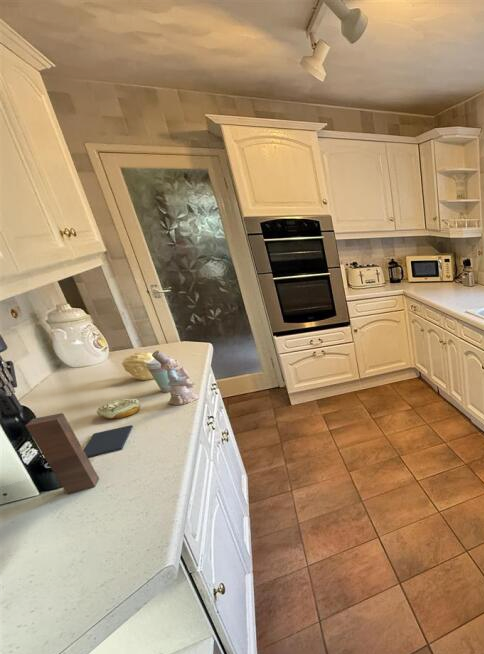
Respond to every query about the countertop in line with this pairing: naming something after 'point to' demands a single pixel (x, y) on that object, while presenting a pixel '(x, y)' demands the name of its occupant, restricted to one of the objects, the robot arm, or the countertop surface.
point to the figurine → (176, 380)
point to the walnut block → (63, 452)
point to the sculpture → (138, 365)
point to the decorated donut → (119, 409)
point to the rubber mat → (107, 441)
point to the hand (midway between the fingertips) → (14, 412)
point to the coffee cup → (159, 374)
